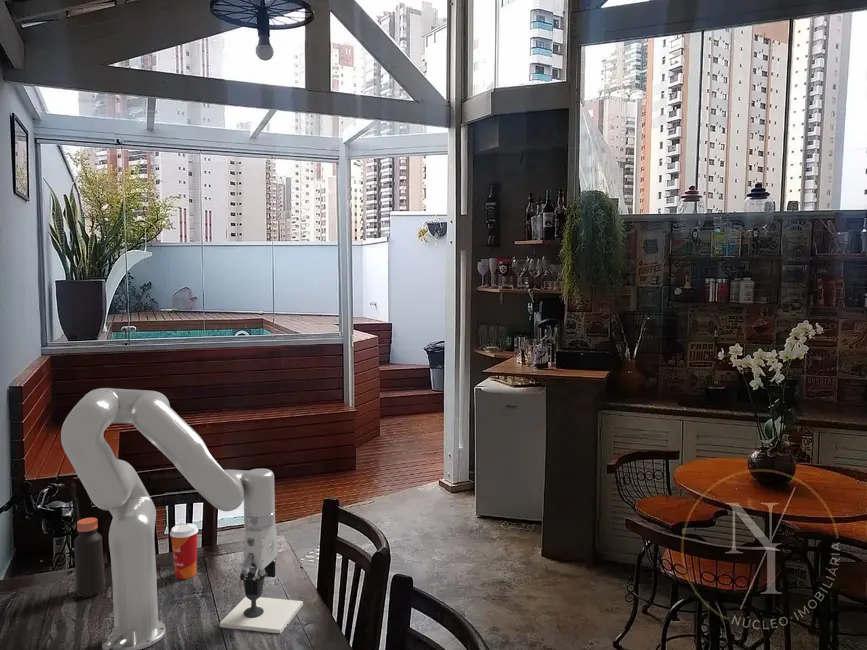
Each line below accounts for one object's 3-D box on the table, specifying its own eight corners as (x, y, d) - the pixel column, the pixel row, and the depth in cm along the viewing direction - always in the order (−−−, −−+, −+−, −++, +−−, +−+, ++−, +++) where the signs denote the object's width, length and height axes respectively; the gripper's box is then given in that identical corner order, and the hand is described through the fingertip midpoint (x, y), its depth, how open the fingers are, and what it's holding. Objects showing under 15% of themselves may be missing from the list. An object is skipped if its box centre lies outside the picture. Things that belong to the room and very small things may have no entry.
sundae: (271, 606, 171) (271, 551, 169) (260, 621, 164) (261, 563, 162) (246, 603, 172) (247, 548, 170) (235, 618, 165) (235, 560, 163)
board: (280, 633, 160) (280, 629, 160) (219, 627, 163) (219, 623, 163) (303, 604, 174) (303, 601, 174) (246, 599, 177) (246, 595, 177)
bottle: (103, 595, 180) (99, 523, 178) (75, 599, 177) (71, 527, 176) (105, 584, 186) (102, 514, 184) (78, 588, 184) (74, 518, 182)
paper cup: (170, 572, 193) (168, 525, 192) (198, 567, 196) (196, 521, 195) (172, 583, 186) (170, 535, 185) (201, 578, 189) (199, 530, 188)
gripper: (257, 533, 157) (259, 603, 159) (287, 508, 174) (288, 571, 175) (228, 531, 159) (230, 600, 160) (261, 506, 176) (262, 568, 177)
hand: (260, 585), depth 168 cm, fingers open, 9 cm apart
